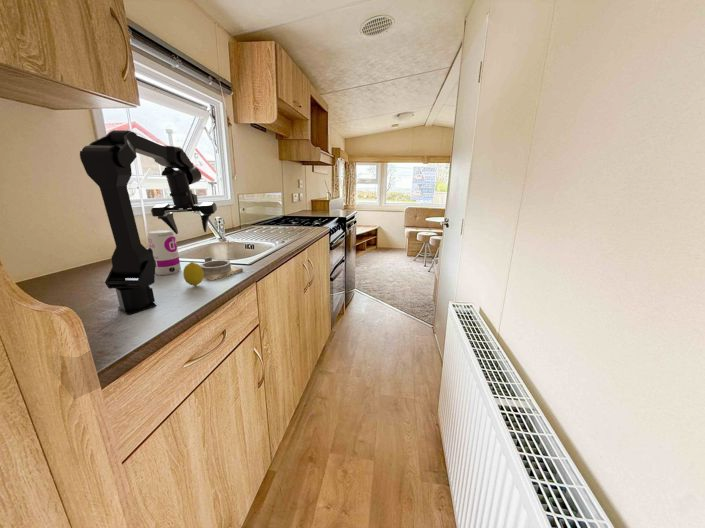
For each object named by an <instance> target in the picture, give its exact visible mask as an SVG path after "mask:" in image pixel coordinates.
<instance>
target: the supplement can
mask: <svg viewBox="0 0 705 528" xmlns="http://www.w3.org/2000/svg"><path fill="white" fill-rule="evenodd" d="M146 238H147V243H148V248H151V249H152V251H153V257H154V260H155V261H156V262H155V263H154V264H155V275H158V276H168V275H173V274H177V273H178V272H179V271H181V269H182V268H181V262H180V256H179V250H178V244H177V239H176V233H175V232H174V231H173V230H172V229H158V230H157V229H156V230H151V231H148V234H147V236H146Z"/></svg>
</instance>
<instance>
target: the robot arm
mask: <svg viewBox="0 0 705 528" xmlns="http://www.w3.org/2000/svg"><path fill="white" fill-rule="evenodd" d="M137 154H140V155H142V156H145V157H148V158H151V159H153V160H154V162H155V163H157V164H158V165H160V166H161V167H164V169H163V170H162V171H161V176H162V177H163V176H164V177H166V181H167V183H168V184H167V185H168V188H169V197H171V198H172V202H173V205H172V206H171V205H170V203H161V204H160V203H158V204H155V205H154V206H152V207H151V210H150V213H151V216H152V217H156V218H157V219H158V220H162V221H163V222H164V223H165V224H166V225H167V226H168V227H169V228H170V230H172V232H173V233H174V234H175V235H178V234H179V231H178V226H177V224H176V221H175V218H174V213H184V212H186V213H187V212H200V213H201V214H200V218H201V224H202V229H203V232H204V233H206V232H207V231H208V222H209V218H210V217H211V216H212V215H214V214H215V212H216V211H217V210H218V209H217V204H216V203H215V202H213V201H206V202H202V203H201V204H200V205H198V204H199V202H198V201H199V200H198V195H197V194H195V193H193V191H192V189H191V187H190V185H193V184H195V183H198V182H200V180H202V173H201V171H200V170H199V168H198V167H196V166H194V162H192V161H191V160H190V158H189V157H188V155H187V154H186V152H185V150H183V148H181V147H180V146H173V145H163V144H161V143H158V142H156V141H154V140H150V139H148V138H146V137H143V136H141V135H139V134H137V133H136V132H134V131H131V130H127V129H126V130H125V129H123V130H121V129H119V130H118V129H113V130H111V131H109V132H108V133H107V134H106V135H105V136H102V137H101V138H98V139H97V140H94V141H92V142H90V144H88V145H85V146H84V147H83V148H82V150H80V151H79V159H80V162H81V164H82V166H83V169H84V171H85V173H86V175H87V176H88V177H89V178H90V179H91V180H92V181H93V182H94V184H96V186H98V187H99V191H100V193H101V197H102V201H103V204H104V208H105V211H106V215H107V219H108V222H109V226H110V229H111V233H112V236H113V240H114V244H115V249H114V251H113V253H112V255H111V259H110V260H111V266H112V267H111V269H110V271H109V273H108V275H107V277H106V279H105V281H104V284H105V285H106V287H107V288H108V289H109V290H110V289H115V292H116V296H117V301H118V305H119V306H117V309H118V310H119V311H121V312H122V313H124V314H125V315H127V316H128V315H132V314H135V313H139V312H142V311H144V310H148V309H151V308H153V307H157V304H156V303H155V302H156V301H155V295H154V290H153V288H152V287H151V286H152V285H153V284H155V282H156V281H155V280H156V273H155V264H154V263H155V262H156V261H155V260H154V257H153V251H152V249H151V248H149V247H145V246H144V245H143V243H141V239H140V235H139V231H138V227H137V223H136V218H135V216H134V215H135V214H134V211H133V207H132V206H133V205H132V202H131V198H130V194H129V190H128V184H129V181H130V179H131V177H132V175H133V174H132V163H133V162H134V161H135V160H136V158H137ZM135 279H136V280H135Z"/></svg>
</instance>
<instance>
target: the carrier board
mask: <svg viewBox="0 0 705 528" xmlns="http://www.w3.org/2000/svg"><path fill="white" fill-rule="evenodd" d="M199 265H200V266H201V268H202V270H203V273H204V277H203V279H204V278H205V279H207V278H208V279H207V280H210V279H211V280H210V281H215V280H214V279H216V280H218V279H217V278H219V279H221V278H220V277H222V278H225V277H224V276H226V277H228V276H227V275H229V276H231V275H230V274H232V275H235V274H234V273H236V274H239V273H242V272H241V271H244V269H243V267H240V266H237V265H233V264H231V262H230V261H229V260H225V259H216V260H213V259H212V257H211V256H206V257H204V262H203V263H200V264H199ZM238 272H239V273H238Z"/></svg>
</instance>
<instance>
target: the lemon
mask: <svg viewBox="0 0 705 528" xmlns="http://www.w3.org/2000/svg"><path fill="white" fill-rule="evenodd" d="M182 275H183V280H185V282H186V283H187V284H188V285H192V286H194V287H197V286H198V285H199V284H200V283H202V281H203V280H204V273H203V270H202V268H201V266H200V264H199V263H196V262H193V261H190V263H188V264H186V265H185V266H184V268H183V272H182Z"/></svg>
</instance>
